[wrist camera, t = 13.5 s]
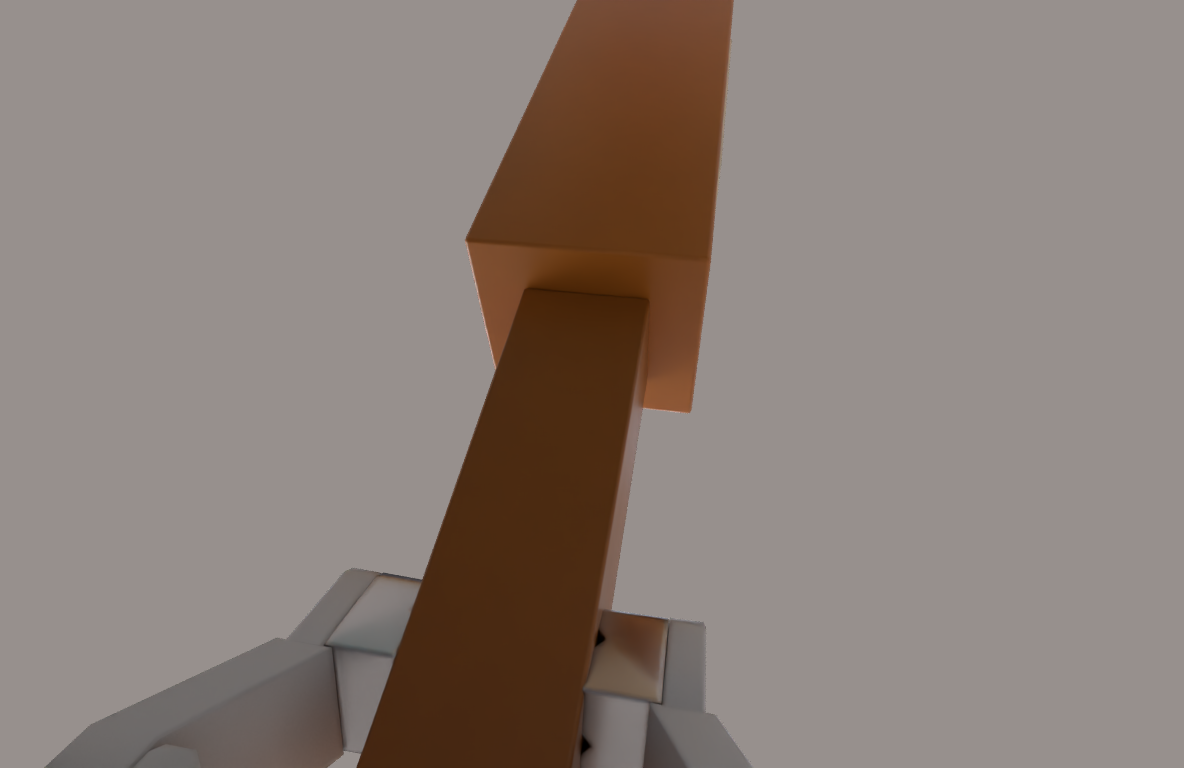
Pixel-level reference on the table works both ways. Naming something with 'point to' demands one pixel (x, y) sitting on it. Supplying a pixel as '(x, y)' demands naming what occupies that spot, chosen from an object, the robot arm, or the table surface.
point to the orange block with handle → (565, 382)
